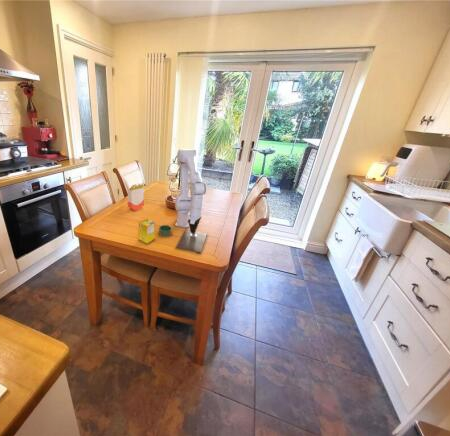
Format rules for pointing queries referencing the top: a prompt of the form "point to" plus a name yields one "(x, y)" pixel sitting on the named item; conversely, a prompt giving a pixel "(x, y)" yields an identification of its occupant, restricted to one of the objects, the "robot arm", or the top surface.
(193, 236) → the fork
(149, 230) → the supplement box
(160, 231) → the green bowl
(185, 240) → the board
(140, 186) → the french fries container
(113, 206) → the top surface
